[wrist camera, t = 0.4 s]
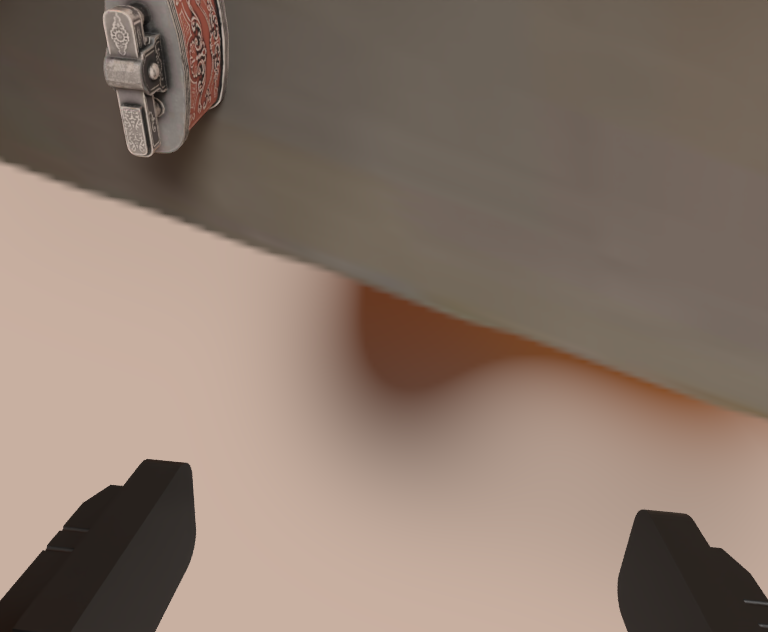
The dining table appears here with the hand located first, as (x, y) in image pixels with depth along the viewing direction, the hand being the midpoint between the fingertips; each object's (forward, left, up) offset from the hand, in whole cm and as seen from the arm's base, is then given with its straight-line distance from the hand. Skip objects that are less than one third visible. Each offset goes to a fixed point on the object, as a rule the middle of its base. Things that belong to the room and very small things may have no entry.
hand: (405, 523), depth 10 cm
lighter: (-11, -7, -29) cm, 31 cm away
